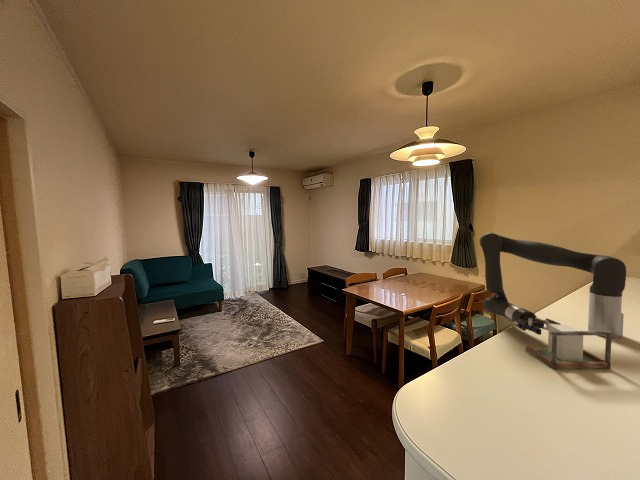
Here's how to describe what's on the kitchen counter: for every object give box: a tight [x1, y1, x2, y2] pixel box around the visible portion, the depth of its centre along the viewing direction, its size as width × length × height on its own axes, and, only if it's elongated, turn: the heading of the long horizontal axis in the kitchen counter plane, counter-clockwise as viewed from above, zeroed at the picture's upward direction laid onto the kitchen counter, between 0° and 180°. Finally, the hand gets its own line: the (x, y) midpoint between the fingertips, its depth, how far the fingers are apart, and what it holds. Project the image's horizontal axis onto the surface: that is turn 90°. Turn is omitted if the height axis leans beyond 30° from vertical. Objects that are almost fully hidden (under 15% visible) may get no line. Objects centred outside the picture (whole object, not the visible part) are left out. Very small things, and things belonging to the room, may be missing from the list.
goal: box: [525, 330, 613, 370], centre depth 90 cm, size 18×12×12 cm, turn 87°
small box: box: [547, 324, 584, 362], centre depth 90 cm, size 8×6×10 cm
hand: (552, 332), depth 95 cm, fingers open, 8 cm apart
